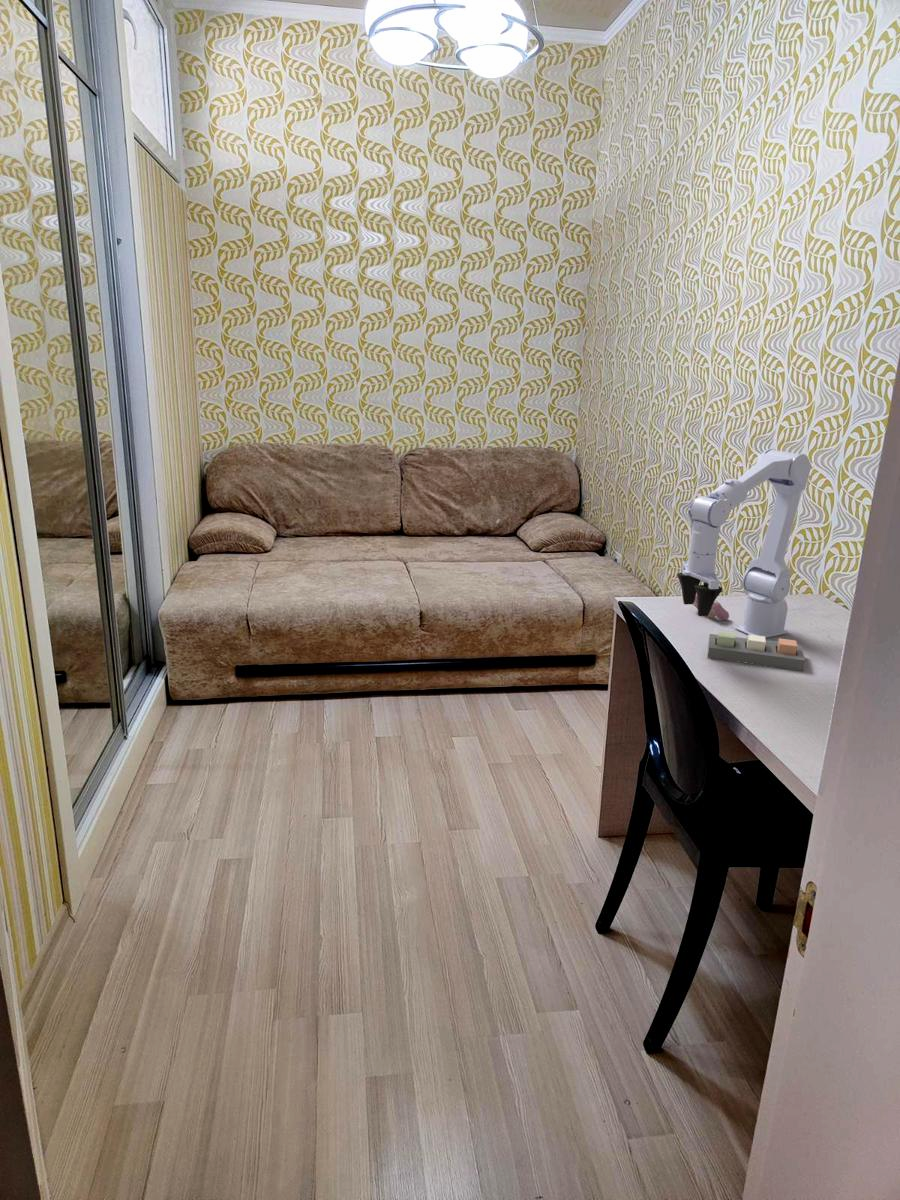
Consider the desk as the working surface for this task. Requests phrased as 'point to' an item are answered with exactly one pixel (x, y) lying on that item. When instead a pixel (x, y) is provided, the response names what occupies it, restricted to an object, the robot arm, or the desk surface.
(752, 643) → the cream button
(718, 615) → the pinkish-red lumpy piece
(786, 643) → the terracotta button
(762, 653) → the button panel
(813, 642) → the desk surface
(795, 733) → the desk surface
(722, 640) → the sage button
